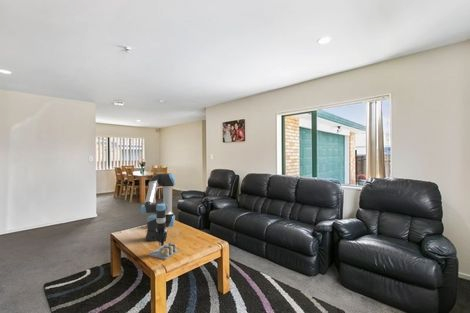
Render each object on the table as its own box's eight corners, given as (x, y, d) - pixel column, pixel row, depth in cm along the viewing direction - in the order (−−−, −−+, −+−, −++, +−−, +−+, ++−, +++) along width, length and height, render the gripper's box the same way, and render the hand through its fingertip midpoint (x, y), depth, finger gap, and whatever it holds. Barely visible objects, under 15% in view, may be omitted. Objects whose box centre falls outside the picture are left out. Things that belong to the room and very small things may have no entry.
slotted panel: (159, 254, 189) (159, 247, 189) (168, 249, 198) (168, 242, 198) (168, 256, 185) (167, 249, 185) (176, 251, 194) (176, 244, 194)
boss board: (148, 255, 190) (148, 245, 190) (162, 248, 205) (162, 238, 205) (165, 259, 183) (165, 248, 183) (178, 251, 197) (178, 241, 197)
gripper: (151, 222, 194) (152, 250, 194) (164, 224, 189) (164, 252, 189) (158, 220, 201) (158, 246, 201) (170, 221, 196) (170, 249, 196)
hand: (161, 249), depth 195 cm, fingers closed
